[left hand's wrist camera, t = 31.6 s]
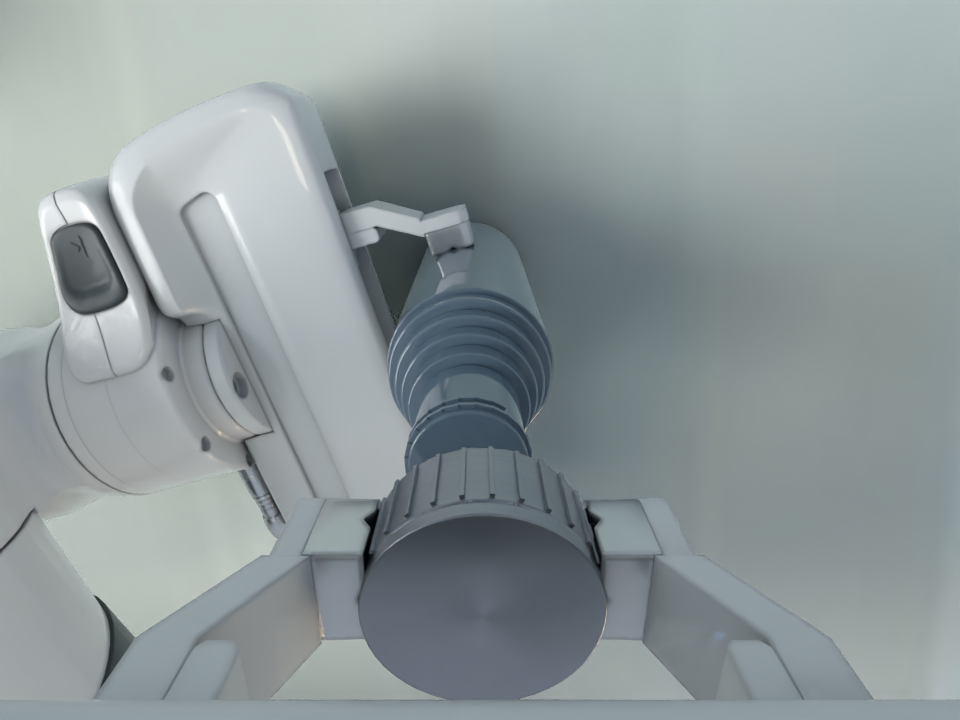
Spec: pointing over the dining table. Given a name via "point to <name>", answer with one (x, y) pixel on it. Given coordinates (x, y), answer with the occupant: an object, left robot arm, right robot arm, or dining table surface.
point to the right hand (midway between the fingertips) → (491, 298)
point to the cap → (482, 578)
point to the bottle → (470, 351)
